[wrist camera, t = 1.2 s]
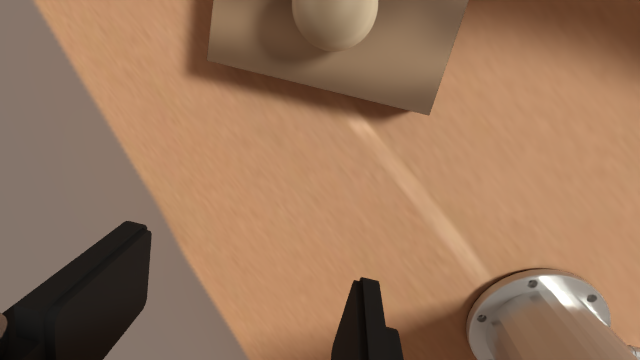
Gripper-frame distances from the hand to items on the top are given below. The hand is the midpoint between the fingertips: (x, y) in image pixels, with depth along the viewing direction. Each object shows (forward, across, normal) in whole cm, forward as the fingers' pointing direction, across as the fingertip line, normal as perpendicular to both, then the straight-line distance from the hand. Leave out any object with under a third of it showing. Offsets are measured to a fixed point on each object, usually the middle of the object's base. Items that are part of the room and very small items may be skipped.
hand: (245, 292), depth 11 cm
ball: (+14, 0, -10) cm, 17 cm away
